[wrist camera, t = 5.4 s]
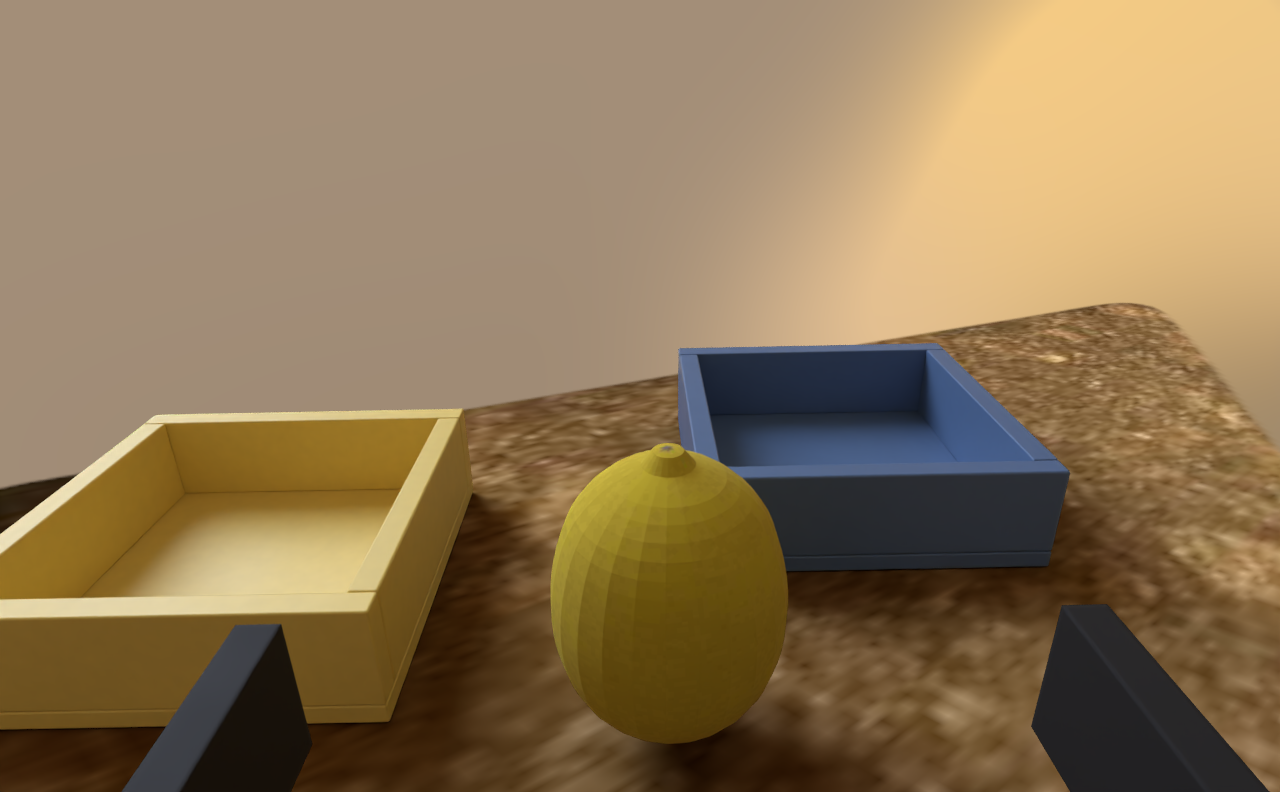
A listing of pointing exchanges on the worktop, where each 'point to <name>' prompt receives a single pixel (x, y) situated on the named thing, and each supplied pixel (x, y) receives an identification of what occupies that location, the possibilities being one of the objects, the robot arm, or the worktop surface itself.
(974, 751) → the worktop surface
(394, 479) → the yellow bin
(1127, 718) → the robot arm
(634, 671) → the lemon
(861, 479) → the blue bin
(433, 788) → the worktop surface
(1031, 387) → the worktop surface
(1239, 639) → the worktop surface
